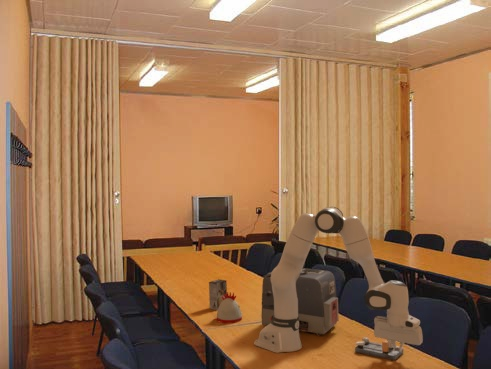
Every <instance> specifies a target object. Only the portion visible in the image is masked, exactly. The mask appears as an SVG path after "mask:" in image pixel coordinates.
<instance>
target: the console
mask: <svg viewBox="0 0 491 369" xmlns="http://www.w3.org/2000/svg"><path fill="white" fill-rule="evenodd" d="M354 353H357V354H363V355H366V356H371V357H375V358H381V359H387V360H390V361H396V360H398V359H399V358H400V356H402V354H404V348H403V347H402V351H401V352H398V351H394V347H392V348H389V351H388V352H383V351H382V343H379V342H375V341H374V342H373V341H369V343H365V344H364V345H356V347H354Z"/></svg>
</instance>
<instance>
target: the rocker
mask: <svg viewBox="0 0 491 369" xmlns="http://www.w3.org/2000/svg"><path fill="white" fill-rule="evenodd" d="M364 344H365V341H363V340H362V341H356V342H355V344H354V345H355V346H358V345H364Z"/></svg>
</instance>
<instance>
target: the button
mask: <svg viewBox="0 0 491 369" xmlns="http://www.w3.org/2000/svg"><path fill="white" fill-rule="evenodd" d="M362 341H365V343H369V342H370V338H369V337H366V336H365V337H362Z"/></svg>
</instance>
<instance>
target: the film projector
mask: <svg viewBox="0 0 491 369" xmlns="http://www.w3.org/2000/svg"><path fill="white" fill-rule="evenodd" d="M271 273H272V271H271V272H268V273H266V274H265V275H264V276H263V278H262V288H261V289H262V290H261V325H264V326H265V327H266V326H267V325H269V324H270V323H271V321H272V319H271V320H269V319H270V317H272V316H273V315H274V296H273V290H272V283H271ZM335 279H336V278H335V275H334V273H332V272H331V271H329V270H322V269H313V268H312V269H311V268H304V267H303V268H302V270H301V273H300V275H299V278H298V279H297V281H296V293H297V298H298V316H299V332H301V331H302V332H307V333H314V334H316V336H317V337H318V336H319V337H320V336H321V335H325V334H326V333H327V332H329V331H330V330H331V329H332V328H333V327H334V326H336V325H337V324H338V323H337V322H339V319H340V318H339V317H340V316H339V297H337V289H336V280H335Z"/></svg>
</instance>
